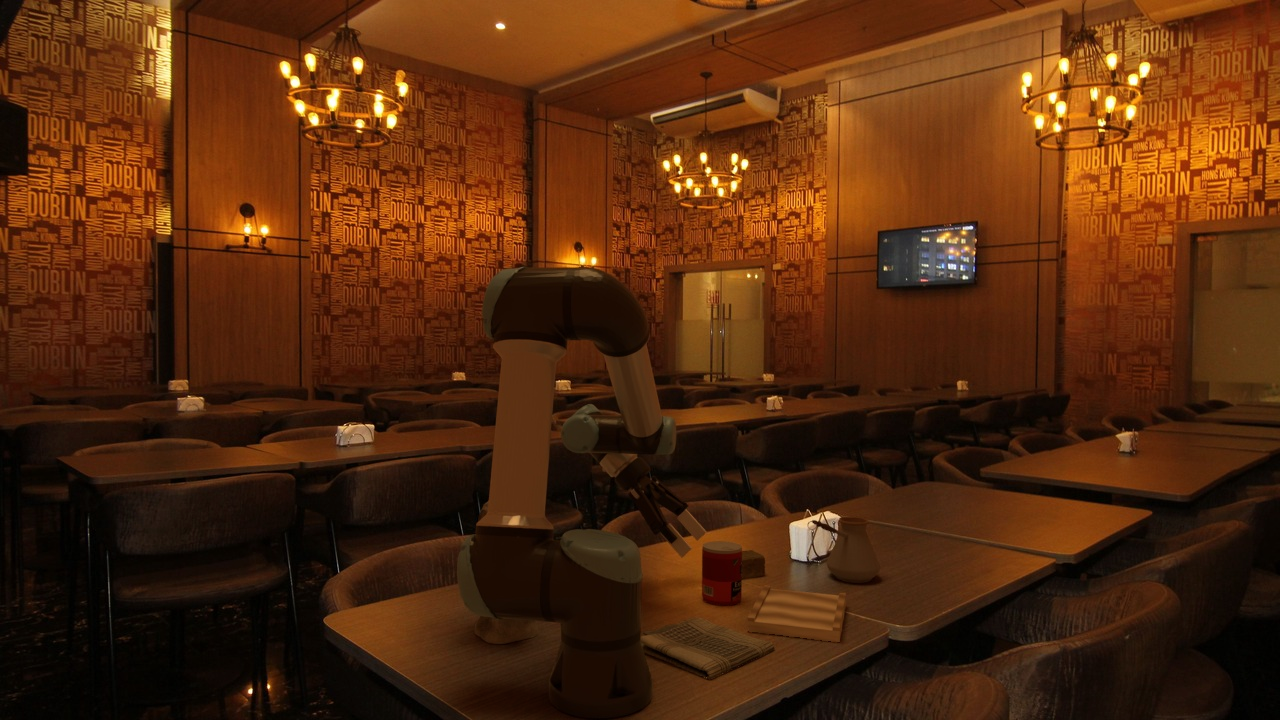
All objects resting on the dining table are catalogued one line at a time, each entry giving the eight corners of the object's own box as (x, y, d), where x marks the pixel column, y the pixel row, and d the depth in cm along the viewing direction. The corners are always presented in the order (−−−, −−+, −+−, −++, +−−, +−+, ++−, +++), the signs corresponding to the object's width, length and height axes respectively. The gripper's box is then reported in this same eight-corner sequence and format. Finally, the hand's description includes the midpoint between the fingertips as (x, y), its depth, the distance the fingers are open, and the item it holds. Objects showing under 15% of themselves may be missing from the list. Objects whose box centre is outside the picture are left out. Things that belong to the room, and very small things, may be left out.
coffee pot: (845, 567, 181) (846, 503, 181) (890, 578, 173) (891, 511, 172) (788, 585, 167) (788, 515, 167) (833, 599, 159) (834, 525, 158)
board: (839, 642, 135) (839, 627, 135) (747, 631, 140) (747, 617, 140) (845, 606, 154) (845, 593, 154) (764, 597, 159) (764, 585, 159)
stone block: (710, 576, 175) (710, 553, 174) (753, 570, 180) (753, 548, 179) (724, 583, 169) (724, 560, 169) (768, 577, 174) (768, 554, 174)
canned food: (740, 607, 153) (740, 551, 153) (699, 604, 155) (699, 549, 154) (742, 595, 161) (743, 542, 160) (704, 592, 162) (704, 539, 162)
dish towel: (778, 653, 132) (778, 634, 132) (709, 685, 119) (709, 664, 119) (695, 624, 145) (696, 607, 145) (625, 650, 133) (625, 631, 133)
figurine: (511, 615, 148) (511, 483, 147) (547, 638, 136) (548, 495, 136) (462, 626, 142) (462, 489, 142) (496, 651, 130) (497, 501, 130)
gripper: (631, 469, 177) (695, 541, 173) (593, 489, 153) (666, 573, 149) (654, 447, 176) (719, 519, 172) (619, 464, 152) (693, 548, 148)
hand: (695, 544), depth 161 cm, fingers open, 13 cm apart
